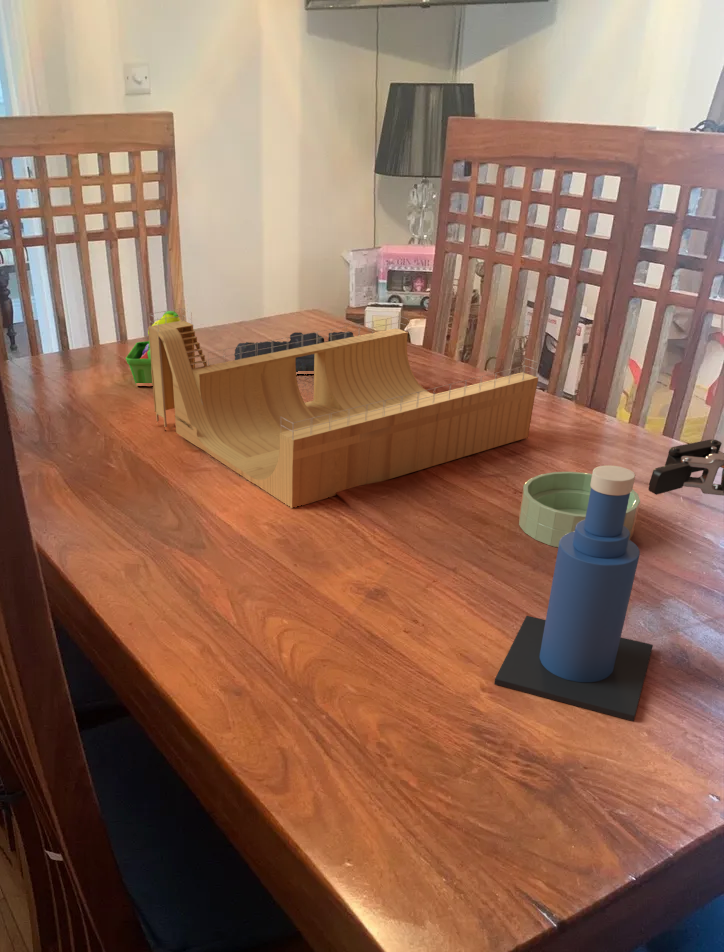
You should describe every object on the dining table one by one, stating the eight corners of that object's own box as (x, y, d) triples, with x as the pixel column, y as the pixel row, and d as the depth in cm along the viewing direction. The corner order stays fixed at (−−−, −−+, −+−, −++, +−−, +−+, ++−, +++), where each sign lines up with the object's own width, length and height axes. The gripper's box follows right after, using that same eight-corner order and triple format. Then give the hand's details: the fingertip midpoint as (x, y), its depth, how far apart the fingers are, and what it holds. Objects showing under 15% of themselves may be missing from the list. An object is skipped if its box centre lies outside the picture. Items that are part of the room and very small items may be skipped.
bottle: (580, 636, 76) (617, 453, 68) (629, 672, 72) (675, 480, 63) (524, 651, 75) (555, 465, 66) (570, 689, 70) (609, 494, 61)
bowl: (581, 500, 102) (587, 465, 100) (655, 542, 93) (664, 504, 91) (496, 518, 99) (501, 482, 96) (565, 564, 89) (572, 525, 87)
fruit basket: (139, 370, 152) (133, 304, 146) (189, 370, 152) (185, 303, 146) (127, 390, 142) (120, 319, 136) (181, 389, 142) (176, 319, 136)
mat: (525, 620, 80) (526, 615, 80) (651, 650, 75) (653, 644, 75) (493, 684, 72) (494, 678, 71) (633, 721, 67) (635, 715, 67)
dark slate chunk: (233, 353, 160) (232, 327, 158) (351, 350, 161) (352, 324, 159) (235, 377, 147) (234, 349, 145) (363, 373, 148) (364, 345, 146)
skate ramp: (291, 516, 102) (292, 383, 93) (155, 425, 127) (146, 313, 118) (527, 444, 121) (546, 327, 112) (368, 377, 146) (374, 277, 137)
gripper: (873, 540, 76) (752, 584, 69) (733, 474, 86) (617, 506, 79) (912, 462, 71) (788, 501, 65) (761, 402, 81) (640, 429, 75)
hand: (694, 503), depth 72 cm, fingers open, 8 cm apart
